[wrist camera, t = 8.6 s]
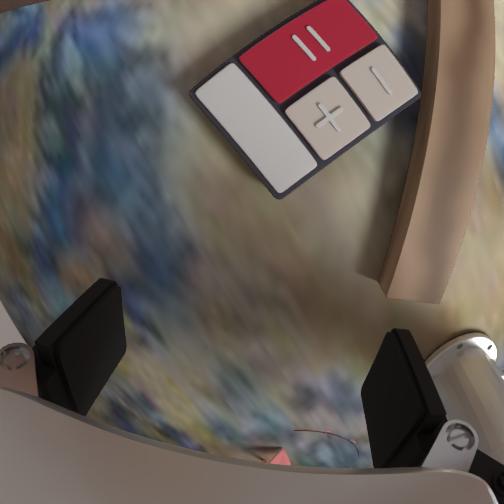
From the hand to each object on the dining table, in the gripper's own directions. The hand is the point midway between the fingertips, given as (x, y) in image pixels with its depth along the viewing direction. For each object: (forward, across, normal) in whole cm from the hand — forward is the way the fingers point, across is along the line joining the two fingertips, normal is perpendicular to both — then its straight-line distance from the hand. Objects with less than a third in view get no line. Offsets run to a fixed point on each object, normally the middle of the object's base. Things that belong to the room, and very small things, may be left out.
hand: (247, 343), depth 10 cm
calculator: (+19, -1, -10) cm, 22 cm away
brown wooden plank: (+19, -14, -10) cm, 26 cm away
